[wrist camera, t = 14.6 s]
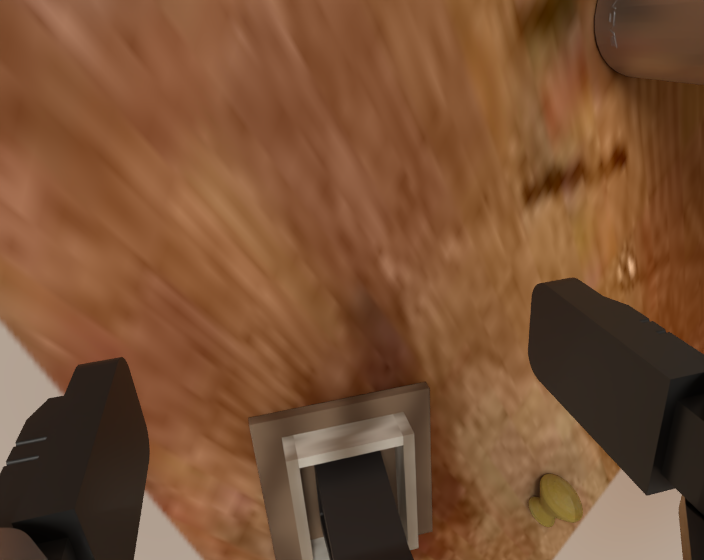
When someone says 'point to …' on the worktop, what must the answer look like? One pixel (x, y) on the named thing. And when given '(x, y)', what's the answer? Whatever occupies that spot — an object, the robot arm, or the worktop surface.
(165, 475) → the worktop surface
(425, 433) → the collar stand
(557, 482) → the knob
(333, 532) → the phone stand
